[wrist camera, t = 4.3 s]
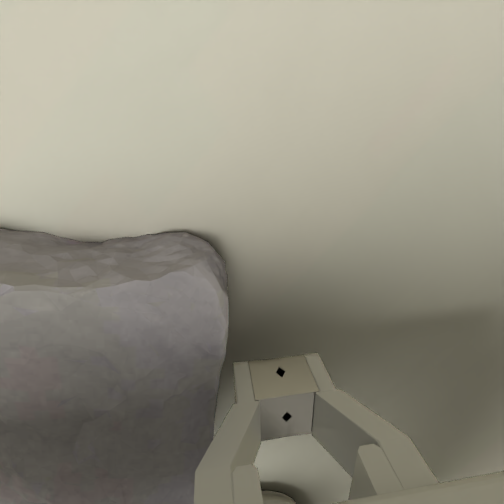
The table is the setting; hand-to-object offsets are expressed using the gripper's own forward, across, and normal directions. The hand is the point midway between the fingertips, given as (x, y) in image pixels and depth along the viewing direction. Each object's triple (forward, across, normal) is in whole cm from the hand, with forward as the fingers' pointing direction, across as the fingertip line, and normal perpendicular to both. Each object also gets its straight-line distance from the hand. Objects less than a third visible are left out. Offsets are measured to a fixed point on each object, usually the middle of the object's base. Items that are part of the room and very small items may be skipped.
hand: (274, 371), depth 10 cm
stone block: (+2, +7, 0) cm, 7 cm away
